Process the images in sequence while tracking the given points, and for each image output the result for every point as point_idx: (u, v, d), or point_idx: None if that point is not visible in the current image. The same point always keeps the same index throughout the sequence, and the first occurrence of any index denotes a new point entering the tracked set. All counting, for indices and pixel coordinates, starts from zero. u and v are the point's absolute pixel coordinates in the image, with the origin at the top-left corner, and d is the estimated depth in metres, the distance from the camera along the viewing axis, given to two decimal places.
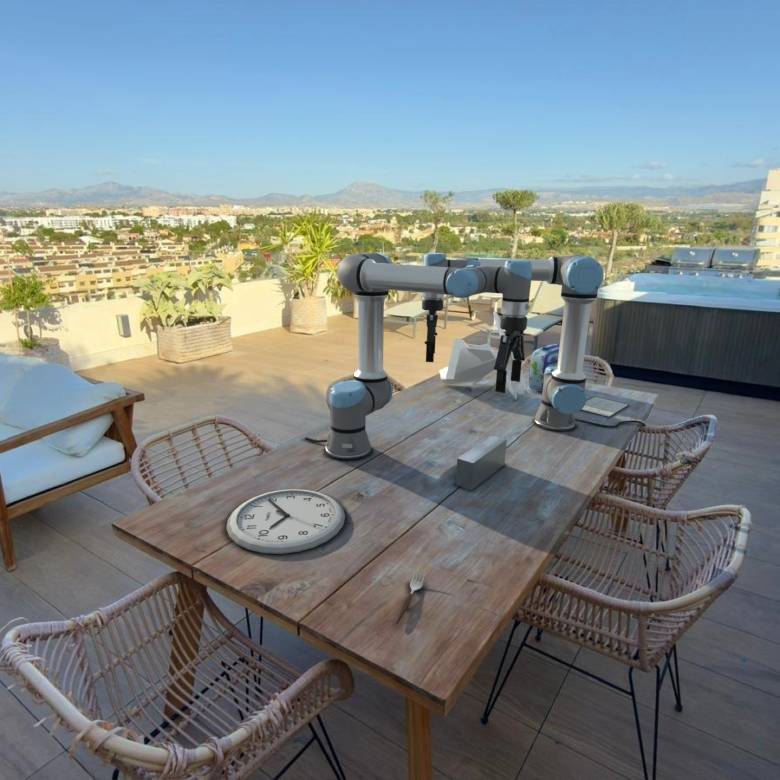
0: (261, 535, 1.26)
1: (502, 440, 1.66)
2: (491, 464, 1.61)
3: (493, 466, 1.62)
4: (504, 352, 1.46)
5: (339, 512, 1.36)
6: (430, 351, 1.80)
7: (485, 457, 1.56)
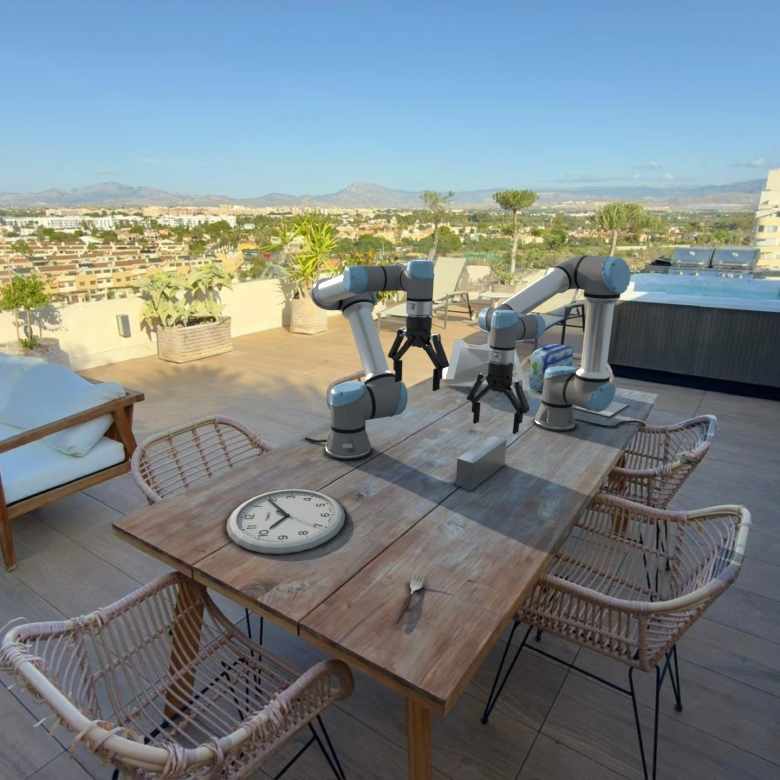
0: (261, 535, 1.26)
1: (502, 440, 1.66)
2: (491, 464, 1.61)
3: (493, 466, 1.62)
4: None
5: (339, 512, 1.36)
6: (521, 420, 1.59)
7: (485, 457, 1.56)
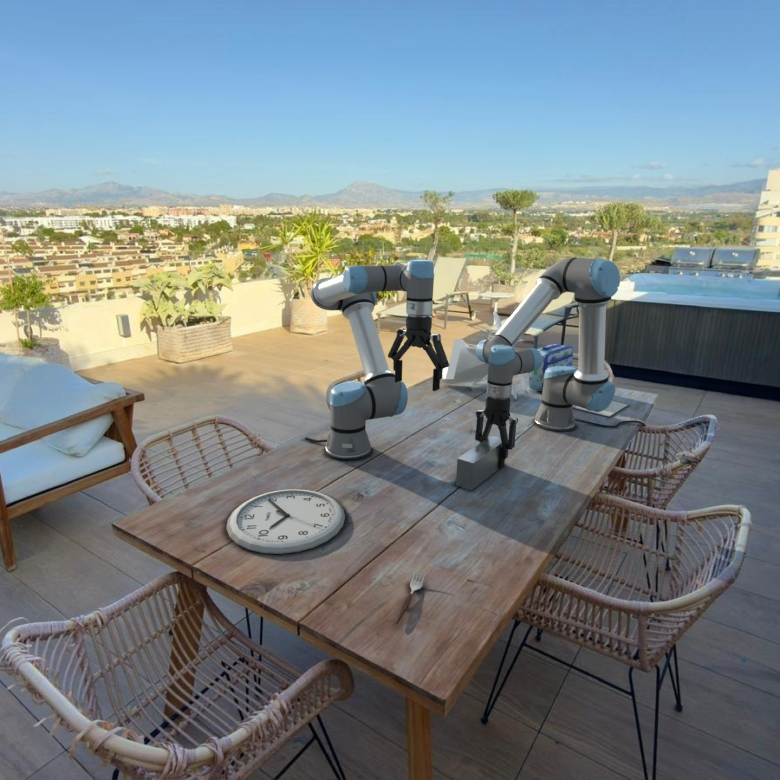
0: (261, 535, 1.26)
1: None
2: (491, 464, 1.61)
3: (493, 466, 1.62)
4: None
5: (339, 512, 1.36)
6: (507, 456, 1.65)
7: (485, 457, 1.56)
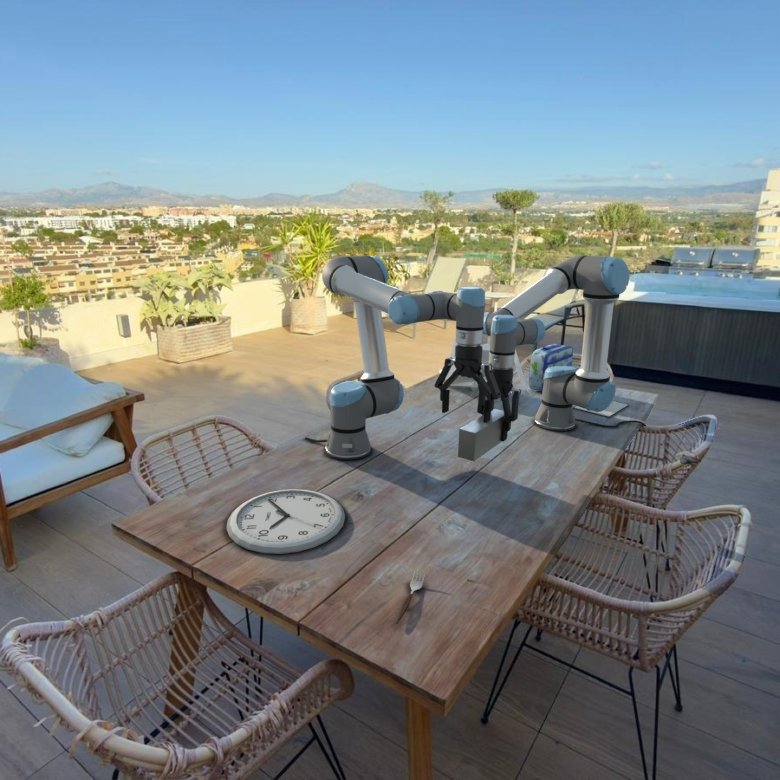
0: (261, 535, 1.26)
1: None
2: (494, 436, 1.58)
3: (495, 438, 1.59)
4: None
5: (339, 512, 1.36)
6: (509, 428, 1.62)
7: (488, 428, 1.53)
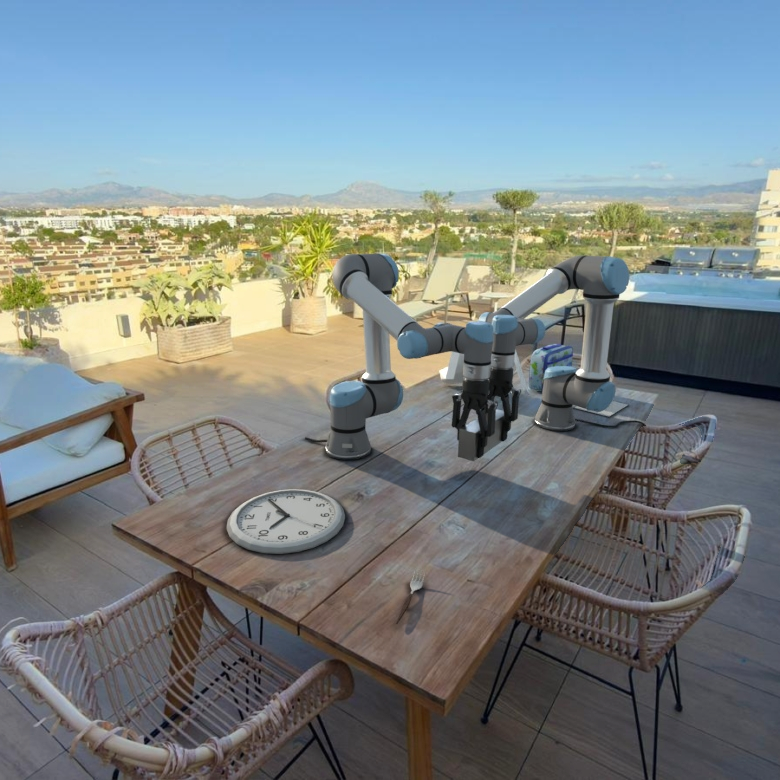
0: (261, 535, 1.26)
1: None
2: (494, 436, 1.58)
3: (495, 438, 1.59)
4: None
5: (339, 512, 1.36)
6: (509, 428, 1.62)
7: None
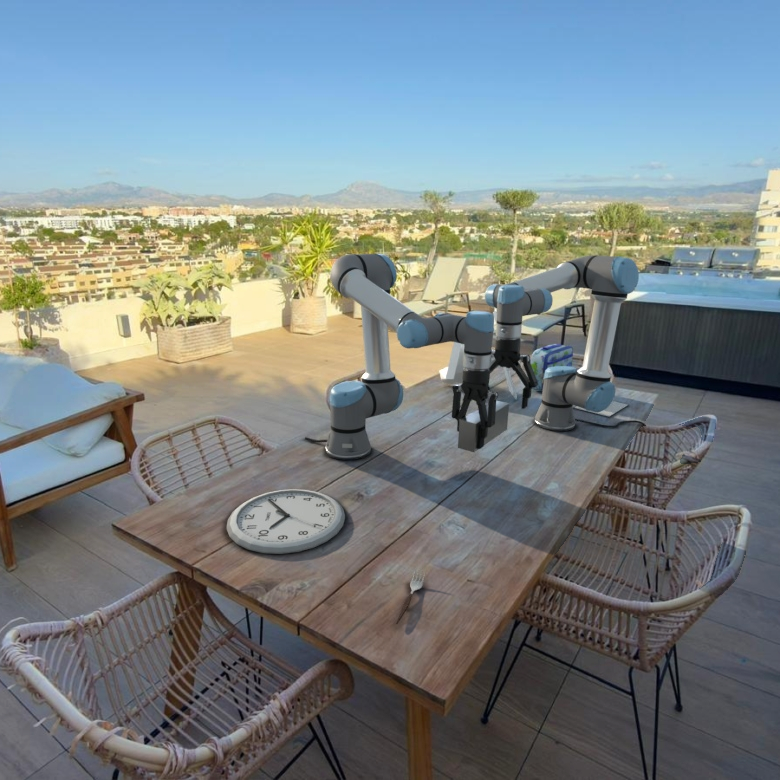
0: (261, 535, 1.26)
1: (505, 404, 1.62)
2: (494, 427, 1.57)
3: (495, 429, 1.58)
4: None
5: (339, 512, 1.36)
6: (530, 395, 1.59)
7: None
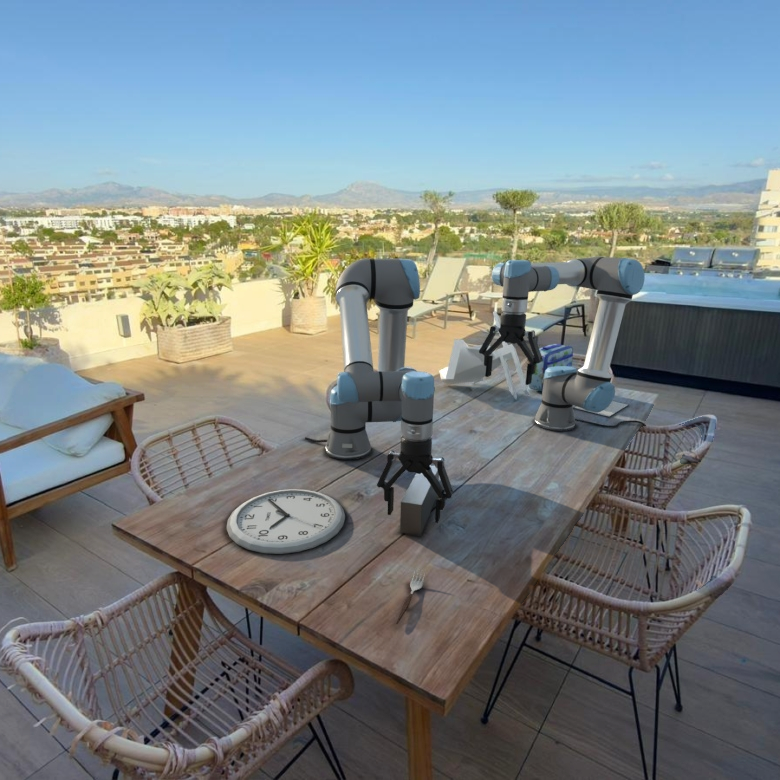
0: (261, 535, 1.26)
1: (435, 468, 1.46)
2: (431, 498, 1.40)
3: (432, 500, 1.41)
4: (384, 469, 1.30)
5: (339, 512, 1.36)
6: (534, 371, 1.59)
7: (428, 493, 1.34)
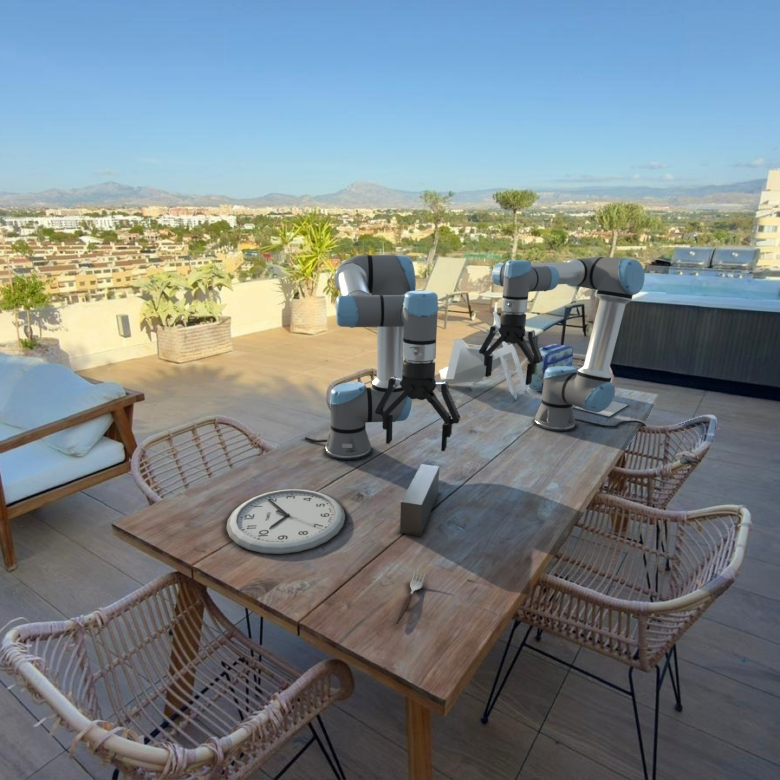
0: (261, 535, 1.26)
1: (435, 468, 1.46)
2: (431, 498, 1.40)
3: (432, 500, 1.41)
4: (383, 395, 1.24)
5: (339, 512, 1.36)
6: (534, 371, 1.59)
7: (428, 493, 1.34)
